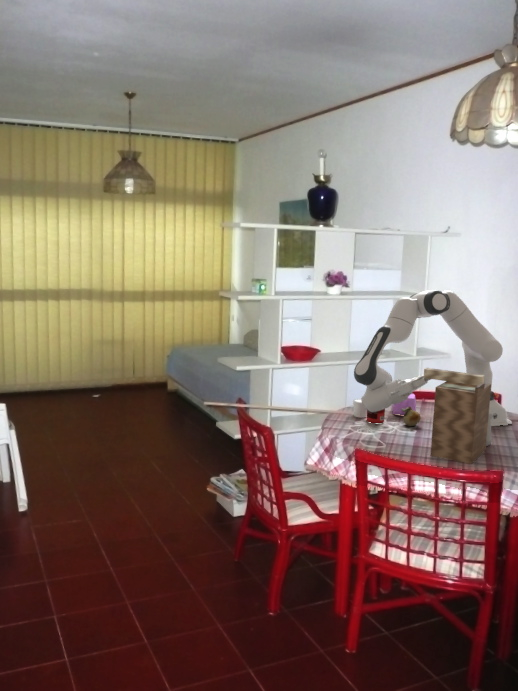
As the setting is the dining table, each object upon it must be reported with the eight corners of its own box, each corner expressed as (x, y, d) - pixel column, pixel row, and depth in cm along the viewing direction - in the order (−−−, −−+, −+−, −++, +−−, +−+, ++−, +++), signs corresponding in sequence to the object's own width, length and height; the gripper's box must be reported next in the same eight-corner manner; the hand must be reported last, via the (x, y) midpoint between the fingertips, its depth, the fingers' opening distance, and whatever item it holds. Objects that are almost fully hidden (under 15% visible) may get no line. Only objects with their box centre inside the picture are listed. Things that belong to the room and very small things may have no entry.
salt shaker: (473, 442, 268) (476, 410, 266) (487, 442, 269) (490, 410, 267) (479, 446, 263) (482, 414, 261) (494, 446, 263) (496, 414, 261)
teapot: (392, 407, 319) (394, 386, 318) (415, 409, 317) (417, 388, 315) (391, 417, 302) (393, 395, 300) (415, 419, 300) (417, 397, 298)
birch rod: (423, 377, 261) (424, 369, 261) (426, 376, 264) (427, 367, 264) (481, 386, 250) (482, 376, 249) (483, 384, 253) (484, 375, 252)
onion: (404, 428, 285) (406, 409, 284) (399, 422, 293) (401, 405, 292) (422, 428, 286) (423, 410, 284) (416, 423, 294) (418, 405, 292)
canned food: (383, 419, 297) (384, 395, 295) (384, 424, 289) (386, 399, 287) (365, 418, 298) (367, 394, 296) (366, 423, 290) (368, 399, 288)
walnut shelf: (430, 455, 250) (436, 381, 245) (446, 442, 266) (452, 373, 262) (471, 464, 242) (477, 387, 237) (485, 450, 258) (491, 378, 254)
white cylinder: (363, 418, 298) (364, 403, 297) (349, 416, 302) (350, 400, 300) (370, 415, 304) (370, 400, 303) (356, 413, 307) (356, 398, 306)
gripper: (385, 388, 261) (416, 374, 254) (404, 379, 278) (433, 366, 271) (392, 403, 260) (423, 390, 253) (410, 393, 277) (440, 381, 270)
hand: (429, 378), depth 262 cm, fingers open, 8 cm apart
